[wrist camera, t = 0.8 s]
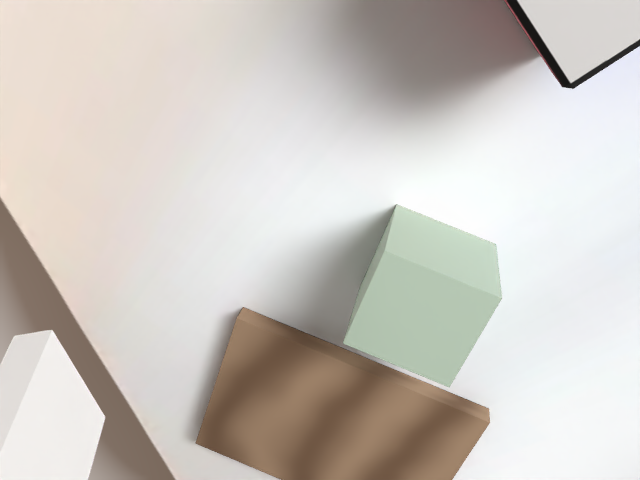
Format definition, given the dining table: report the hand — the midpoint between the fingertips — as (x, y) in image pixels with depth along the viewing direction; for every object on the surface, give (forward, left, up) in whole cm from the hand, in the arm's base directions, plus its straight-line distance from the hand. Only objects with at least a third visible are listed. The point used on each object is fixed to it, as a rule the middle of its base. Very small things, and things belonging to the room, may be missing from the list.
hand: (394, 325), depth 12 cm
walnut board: (-3, +28, -27) cm, 39 cm away
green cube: (-4, +12, -27) cm, 30 cm away
